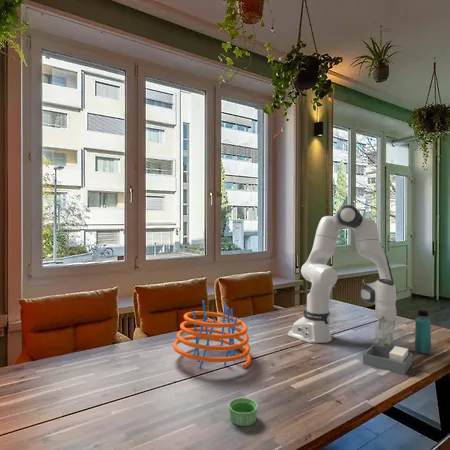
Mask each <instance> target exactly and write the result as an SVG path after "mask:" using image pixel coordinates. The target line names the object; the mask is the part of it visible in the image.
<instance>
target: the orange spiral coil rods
mask: <svg viewBox="0 0 450 450" xmlns="http://www.w3.org/2000/svg"><path fill="white" fill-rule="evenodd" d="M223 304H224V305H223V313H220V312H213V311H206V306H205V300H202V311H199V310H195V311H189V312H186V313H184V315H183V319H184V321H182V322H181V323H180V325H179V327H180V330H179V331H178V332H177V333H176V340H174V341H173V344H172V348H173V350H174V351H175V352H176V353H177V354H178V355H180V356H182V357H184V358H188V359H191V360H194V361H195V360H196V361H197V363H200V364H199V367H198V368H199V369H202V367H203V363H204V362H206V363H207V362H208V363H223V365H224V366H227V363H228V362H229V363H230V362H235V361H239V360H241V359H243V358H245V357H247V358H246V359H247V360H246V362H244V363H243V364H242V368H243V369H246V368H248V367H249V365H250V364H251V362H252V356H251V354H250V351H251V346H250V344H249V340H250V337H249V335H248V334H247V332H248V325H247V324H246V323H245V322H244V321H243V320H241V319H239V318H238V316H237V317H235V316H234V314H233V313H234V312H233V308H229V307H230V306H229V307H228V306H227V302H224V303H223ZM196 316H203V318H202V319H196ZM207 316H211V317H217V318H222V321H219V320H218V321H217V320H216V318H213V320H209V319H207ZM191 317H192V318H191ZM225 319H226V320H227V323H225V321H226V320H225ZM192 324H193V327H185V326H187V325H192ZM197 326H200V327H197ZM238 326H241V327H242V328H243V329H241V328H240V327H238ZM217 328H218V329H217ZM219 328H220V329H219ZM221 328H222V329H221ZM225 328H227V330H228V331H225ZM212 333H213V334H212ZM183 334H188V336H183V337H182V335H183ZM242 337H244V338H242ZM191 340H193V341H194V340H195V342H192V341H191ZM200 340H203V341H206V343H205V344H200ZM235 340H236V341H239V342H238V343H236V342H235ZM211 341H213V342H218V343H220V345H210V342H211ZM180 343H182V344H183V345H186V346H188V347H191V348H194V351H193V353H188V352H186V351H184V350H182V349H181V348H179V347H178V344H180ZM224 344H225V345H224ZM237 349H238V350H239V351H241V352H242V353H240V354H238V355H237V354H235V350H237ZM200 350H204V351H203V354H202V356H201V355H200ZM207 351H220V352H221V351H226V354H225V357H213V356H212V357H209V356H206V354H207ZM229 354H230V355H231V354H232V356H229Z"/></svg>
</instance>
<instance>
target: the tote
mask: <svg viewBox="0 0 450 450" xmlns="http://www.w3.org/2000/svg"><path fill="white" fill-rule="evenodd" d="M391 350H392V349H390V348H386V347H382V346H378V344H372V345H371V346H370V347H369V348H368V349H367V350H365V351H364V352H363V354H362V364H363V365H367V366H370V367H373V368H377V369H380V370H381V369H382V370H385V371H389V372H393V373H396V374H399V375H400V374H401V375H406V373H408V370H410V369H409V368H410V367H411V366H412V365H413V353H412V352H408V358H407V359H406V360H405V362H404V363H401V362H397V361H392V360H389V353H390V352H391Z"/></svg>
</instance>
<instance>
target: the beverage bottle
mask: <svg viewBox="0 0 450 450" xmlns="http://www.w3.org/2000/svg"><path fill="white" fill-rule="evenodd" d="M417 315H418V317H416V318H415V319H414V321H415V327H414V328H415V329H414V338H415V339H414V349H415V351H416V352H419V353H421V354H431V351H432V342H431V340H432V332H431V331H432V329H431V327H432V323H431V320H430V319H429V318H428V317H429V312H428V311H427V310H425V309H419V310H418V311H417Z"/></svg>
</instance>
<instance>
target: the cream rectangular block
mask: <svg viewBox="0 0 450 450" xmlns="http://www.w3.org/2000/svg"><path fill="white" fill-rule="evenodd" d="M408 353H409V348H407V347H401V346H397V345H395V346H393V349H392V350H391V352H390V353H389V360H392V361H397V362H401V363H404V362H405V360H406V359H407V358H408Z"/></svg>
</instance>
